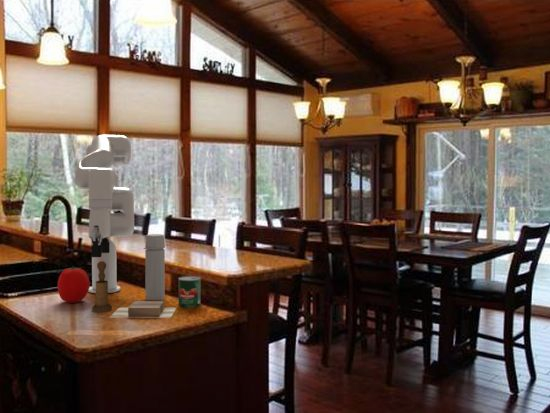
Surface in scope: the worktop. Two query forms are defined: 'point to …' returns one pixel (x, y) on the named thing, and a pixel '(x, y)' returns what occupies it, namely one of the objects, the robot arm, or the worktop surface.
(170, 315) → the birch board
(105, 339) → the worktop surface
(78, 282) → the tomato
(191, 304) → the canned tomato
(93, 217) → the robot arm
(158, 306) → the walnut base block
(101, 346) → the worktop surface
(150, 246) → the water bottle
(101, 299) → the brown wooden pepper mill
